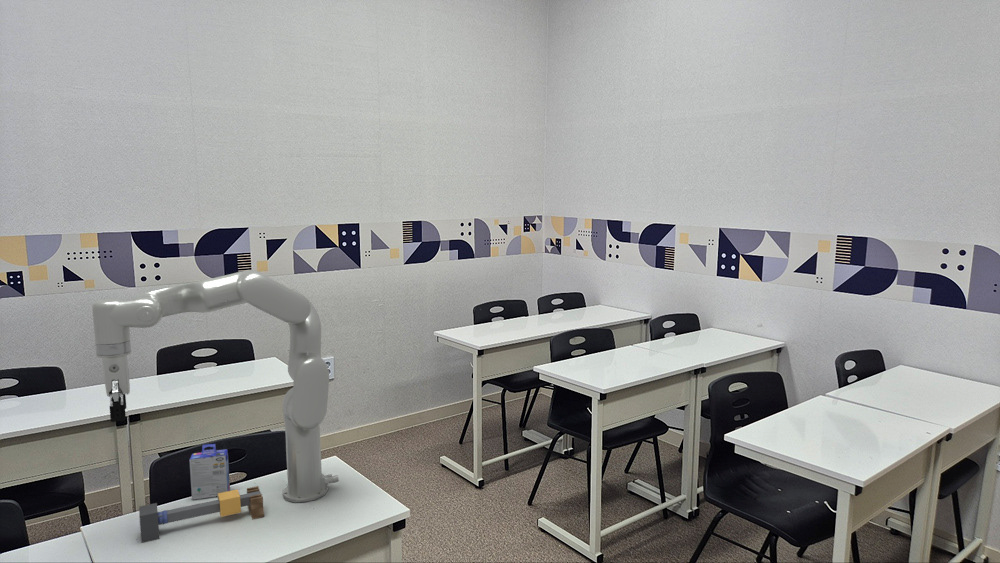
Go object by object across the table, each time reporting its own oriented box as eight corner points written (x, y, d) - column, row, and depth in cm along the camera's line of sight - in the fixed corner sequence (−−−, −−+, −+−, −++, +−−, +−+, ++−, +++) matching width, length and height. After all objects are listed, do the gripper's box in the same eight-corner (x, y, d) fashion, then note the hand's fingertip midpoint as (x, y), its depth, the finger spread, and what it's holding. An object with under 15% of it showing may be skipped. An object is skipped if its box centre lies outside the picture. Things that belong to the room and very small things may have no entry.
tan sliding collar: (238, 504, 178) (237, 489, 178) (241, 512, 174) (240, 496, 173) (218, 509, 176) (217, 493, 175) (220, 516, 172) (219, 500, 171)
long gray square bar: (260, 500, 180) (259, 488, 180) (262, 504, 177) (261, 493, 177) (149, 523, 167) (148, 511, 167) (149, 529, 164) (148, 517, 164)
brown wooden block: (259, 504, 183) (258, 485, 182) (264, 517, 175) (263, 497, 175) (247, 506, 181) (246, 488, 181) (252, 519, 174) (251, 500, 173)
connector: (164, 527, 170) (162, 501, 169) (164, 537, 165) (162, 511, 164) (141, 532, 168) (139, 506, 167) (141, 542, 163) (139, 516, 162)
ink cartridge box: (230, 487, 193) (227, 440, 192) (228, 495, 188) (226, 447, 186) (194, 492, 191) (191, 444, 189) (191, 500, 185) (188, 451, 183)
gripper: (130, 354, 156) (135, 422, 158) (131, 340, 171) (136, 403, 173) (93, 357, 153) (99, 428, 155) (97, 343, 168) (103, 408, 170)
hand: (118, 415), depth 164 cm, fingers open, 9 cm apart
